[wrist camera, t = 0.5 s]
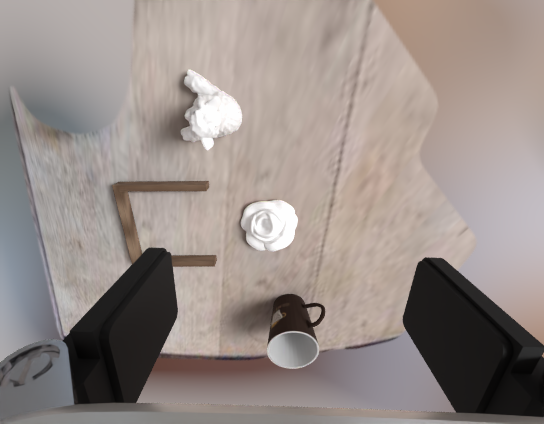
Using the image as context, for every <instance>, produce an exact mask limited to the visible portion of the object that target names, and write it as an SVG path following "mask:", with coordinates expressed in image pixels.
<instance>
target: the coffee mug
mask: <svg viewBox="0 0 544 424" xmlns="http://www.w3.org/2000/svg"><path fill="white" fill-rule="evenodd" d="M316 306H318V307H321V310H322V311H321V315H320V317H319V319H318V320H317V321H316V322H314V323H311V320H310V317H309V314H308V311H307V308H309V307H316ZM324 316H325V307H324V306H323V305H321V304H319V303H311V304H306V305H305V302H304V301H303V299H302V298H301V297H299V296H297V295H294V294H286V295H282V296H280V297H279V298H278V299H277V300H276V301H275V303H274V306H273V313H272V319H271V326H270V332H269V339H268V346H267V354H268V357H269V358H270V360H272V362H273V363H275V364H276V365H278V366H280V367H284V368H291V369H292V368H293V369H294V368H301V367H304V366H307V365H308V364H310V363H312V362H313V361H314V360H315V359H316V358H317V356H318V354H319V345H318V342H317V339H316V336H315V333H314V330H313V327H315V326H317V325H319V324H320V322H321V321H322V320H323V318H324Z"/></svg>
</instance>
